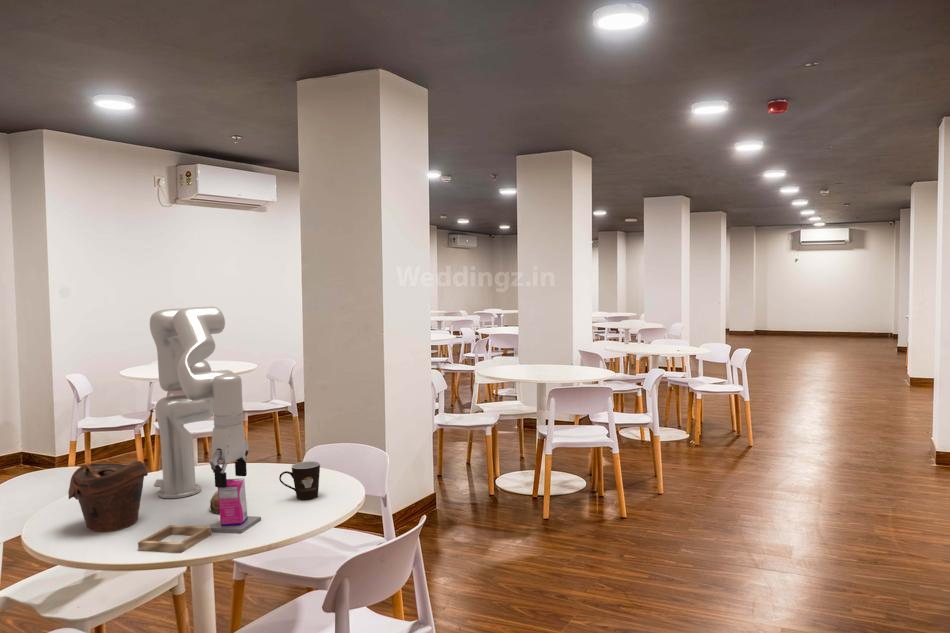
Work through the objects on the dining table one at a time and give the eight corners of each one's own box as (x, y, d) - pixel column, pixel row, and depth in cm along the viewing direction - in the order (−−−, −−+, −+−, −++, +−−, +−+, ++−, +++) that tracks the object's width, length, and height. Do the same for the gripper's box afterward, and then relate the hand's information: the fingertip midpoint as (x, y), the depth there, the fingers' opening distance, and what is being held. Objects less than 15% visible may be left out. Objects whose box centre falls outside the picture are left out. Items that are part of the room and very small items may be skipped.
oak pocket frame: (138, 550, 175) (137, 542, 175) (170, 532, 187) (170, 525, 187) (181, 552, 172) (181, 544, 172) (211, 534, 184) (210, 526, 184)
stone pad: (208, 531, 187) (207, 527, 187) (229, 518, 196) (229, 515, 196) (241, 533, 184) (241, 529, 184) (261, 520, 194) (260, 516, 194)
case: (74, 520, 200) (71, 459, 199) (151, 509, 208) (147, 450, 207) (66, 541, 184) (61, 475, 183) (149, 528, 192) (145, 465, 191)
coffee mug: (325, 492, 218) (323, 461, 217) (316, 501, 209) (314, 468, 209) (289, 493, 219) (287, 461, 218) (279, 501, 210) (277, 469, 210)
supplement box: (226, 519, 193) (224, 478, 192) (248, 518, 193) (245, 477, 193) (219, 526, 187) (217, 484, 187) (241, 525, 187) (239, 483, 187)
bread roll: (210, 520, 207) (197, 499, 204) (238, 497, 214) (226, 477, 211) (226, 527, 201) (214, 505, 198) (255, 503, 207) (243, 482, 204)
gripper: (234, 412, 198) (236, 471, 200) (196, 426, 182) (199, 490, 183) (257, 413, 197) (260, 472, 198) (222, 427, 180) (225, 492, 181)
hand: (231, 481), depth 190 cm, fingers open, 9 cm apart
